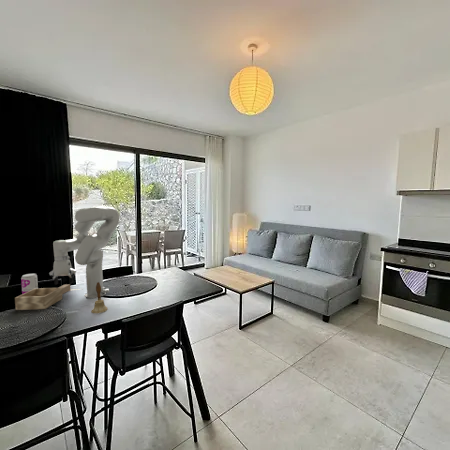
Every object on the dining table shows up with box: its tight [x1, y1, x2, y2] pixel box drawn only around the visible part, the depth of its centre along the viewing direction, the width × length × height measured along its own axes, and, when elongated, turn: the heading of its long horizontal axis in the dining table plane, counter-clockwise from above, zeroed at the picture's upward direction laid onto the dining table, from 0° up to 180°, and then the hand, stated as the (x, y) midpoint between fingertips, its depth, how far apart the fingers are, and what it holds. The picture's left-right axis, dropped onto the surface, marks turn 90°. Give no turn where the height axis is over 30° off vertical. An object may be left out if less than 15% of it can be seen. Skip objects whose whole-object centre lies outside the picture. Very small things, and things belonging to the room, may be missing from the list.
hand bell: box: [90, 282, 109, 315], centre depth 139 cm, size 8×8×16 cm
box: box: [14, 287, 63, 311], centre depth 148 cm, size 16×16×8 cm
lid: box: [57, 283, 82, 295], centre depth 169 cm, size 17×17×6 cm
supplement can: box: [20, 273, 39, 295], centre depth 162 cm, size 8×8×15 cm
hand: (63, 283), depth 169 cm, fingers open, 9 cm apart
